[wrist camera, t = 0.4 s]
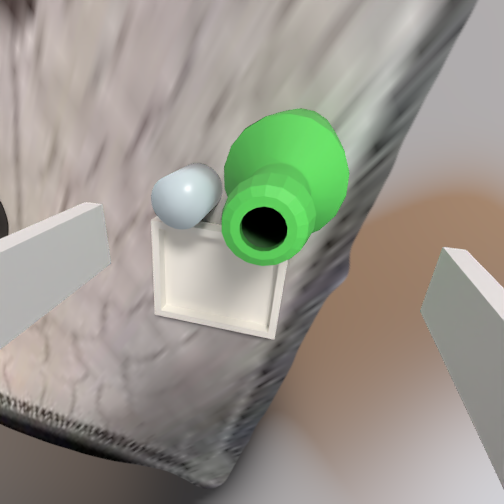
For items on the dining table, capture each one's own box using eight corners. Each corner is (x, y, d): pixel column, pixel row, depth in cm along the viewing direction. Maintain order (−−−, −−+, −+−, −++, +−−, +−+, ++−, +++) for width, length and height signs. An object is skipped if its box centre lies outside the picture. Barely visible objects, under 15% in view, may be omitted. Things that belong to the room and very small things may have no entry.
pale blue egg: (177, 206, 42) (152, 224, 36) (176, 159, 40) (150, 171, 33) (221, 213, 41) (203, 233, 35) (223, 166, 39) (205, 179, 33)
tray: (161, 305, 50) (154, 314, 48) (159, 214, 43) (150, 220, 41) (276, 328, 48) (274, 339, 45) (292, 236, 41) (290, 244, 39)
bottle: (280, 200, 39) (228, 331, 17) (246, 133, 37) (132, 185, 14) (350, 167, 36) (398, 274, 14) (318, 91, 34) (314, 75, 11)
